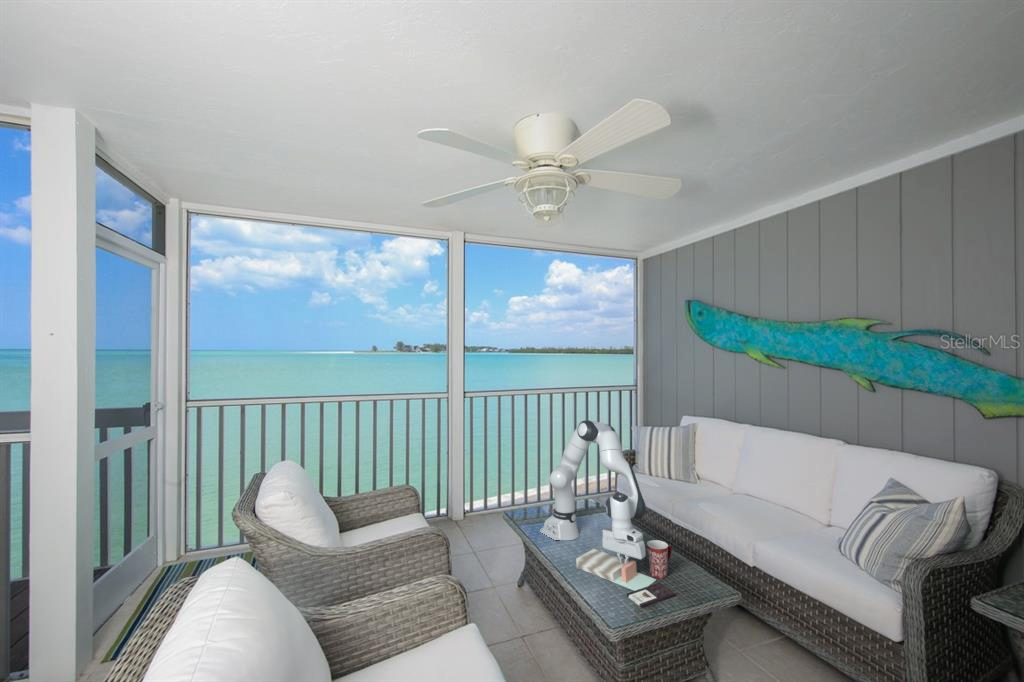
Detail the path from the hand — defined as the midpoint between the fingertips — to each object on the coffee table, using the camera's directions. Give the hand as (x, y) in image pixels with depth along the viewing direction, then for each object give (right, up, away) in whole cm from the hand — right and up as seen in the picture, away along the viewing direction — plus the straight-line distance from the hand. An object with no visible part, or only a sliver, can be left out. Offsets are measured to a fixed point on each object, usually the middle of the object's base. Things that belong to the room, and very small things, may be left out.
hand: (624, 563), depth 195 cm
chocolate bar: (+7, -5, -16) cm, 18 cm away
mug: (+18, -6, +2) cm, 19 cm away
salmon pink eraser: (+1, -3, -1) cm, 3 cm away
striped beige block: (-8, -7, +8) cm, 13 cm away
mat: (+3, -6, -3) cm, 8 cm away
